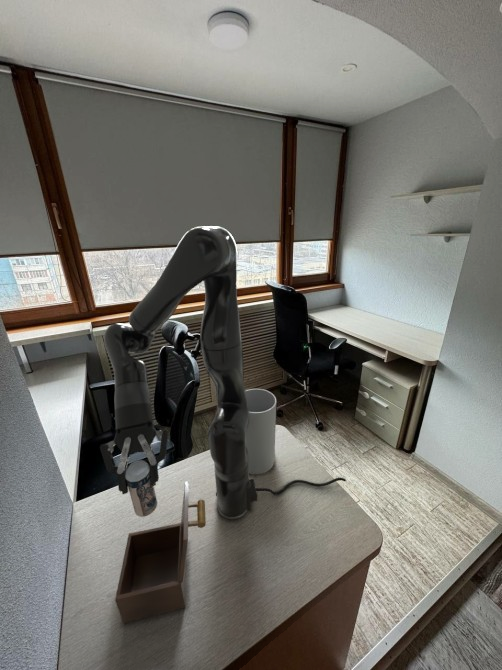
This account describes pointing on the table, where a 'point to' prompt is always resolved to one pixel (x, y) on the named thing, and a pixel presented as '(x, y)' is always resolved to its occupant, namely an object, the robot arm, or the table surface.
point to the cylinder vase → (261, 430)
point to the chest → (151, 574)
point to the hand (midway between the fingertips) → (139, 489)
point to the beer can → (141, 488)
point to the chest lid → (185, 524)
